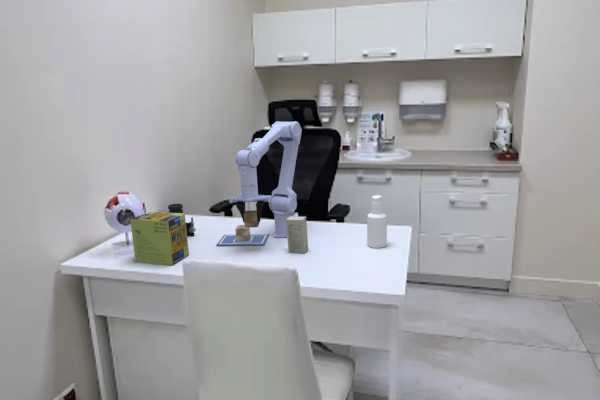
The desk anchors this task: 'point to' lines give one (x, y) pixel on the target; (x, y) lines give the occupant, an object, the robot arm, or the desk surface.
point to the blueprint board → (253, 241)
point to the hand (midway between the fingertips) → (251, 221)
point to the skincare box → (297, 234)
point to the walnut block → (250, 219)
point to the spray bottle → (377, 224)
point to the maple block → (242, 233)
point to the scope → (178, 209)
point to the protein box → (159, 237)
